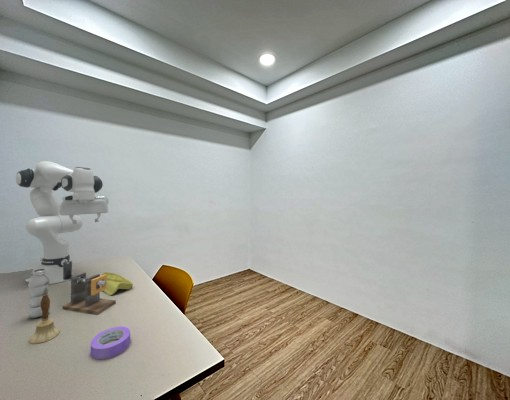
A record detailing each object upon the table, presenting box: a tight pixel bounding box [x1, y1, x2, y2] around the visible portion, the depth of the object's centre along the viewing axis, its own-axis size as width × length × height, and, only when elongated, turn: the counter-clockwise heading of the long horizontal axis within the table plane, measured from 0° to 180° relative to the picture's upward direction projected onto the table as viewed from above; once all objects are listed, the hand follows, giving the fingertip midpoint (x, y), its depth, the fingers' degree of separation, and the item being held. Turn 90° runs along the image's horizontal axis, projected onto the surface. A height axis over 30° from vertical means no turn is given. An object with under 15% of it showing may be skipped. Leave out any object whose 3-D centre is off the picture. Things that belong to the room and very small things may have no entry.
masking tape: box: [90, 326, 131, 360], centre depth 76 cm, size 12×12×4 cm
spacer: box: [91, 274, 107, 295], centre depth 100 cm, size 1×7×7 cm, turn 170°
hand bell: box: [28, 293, 61, 345], centre depth 80 cm, size 8×8×16 cm
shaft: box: [63, 260, 106, 286], centre depth 102 cm, size 23×3×9 cm, turn 80°
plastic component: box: [100, 271, 134, 296], centre depth 122 cm, size 20×7×10 cm
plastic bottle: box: [27, 269, 51, 319], centre depth 92 cm, size 6×7×20 cm
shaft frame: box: [61, 272, 117, 315], centre depth 101 cm, size 19×10×14 cm, turn 80°
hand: (85, 222), depth 114 cm, fingers open, 8 cm apart
